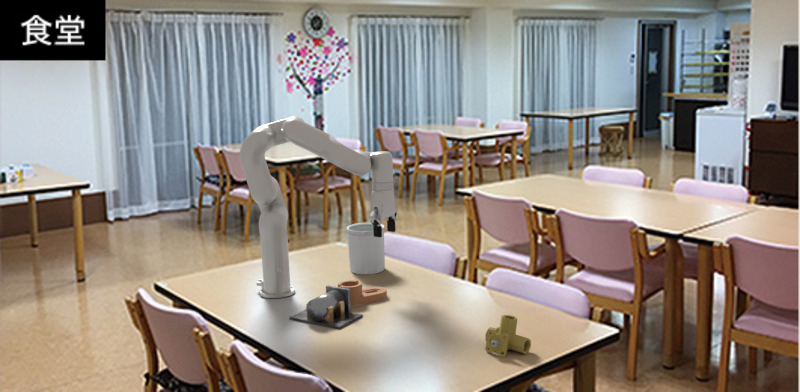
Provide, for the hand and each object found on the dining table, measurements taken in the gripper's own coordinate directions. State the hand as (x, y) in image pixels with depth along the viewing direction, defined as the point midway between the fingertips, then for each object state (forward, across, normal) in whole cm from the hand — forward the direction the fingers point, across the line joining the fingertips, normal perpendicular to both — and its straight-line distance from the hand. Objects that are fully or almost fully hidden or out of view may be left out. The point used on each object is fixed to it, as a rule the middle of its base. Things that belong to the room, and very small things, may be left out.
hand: (384, 233), depth 286 cm
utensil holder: (+20, -17, -20) cm, 33 cm away
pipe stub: (+20, +36, 0) cm, 41 cm away
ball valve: (+21, +36, +63) cm, 75 cm away
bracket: (+21, +15, 0) cm, 26 cm away
